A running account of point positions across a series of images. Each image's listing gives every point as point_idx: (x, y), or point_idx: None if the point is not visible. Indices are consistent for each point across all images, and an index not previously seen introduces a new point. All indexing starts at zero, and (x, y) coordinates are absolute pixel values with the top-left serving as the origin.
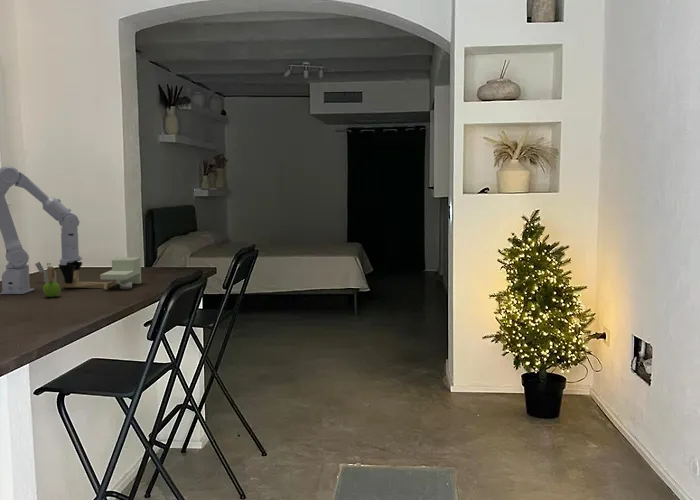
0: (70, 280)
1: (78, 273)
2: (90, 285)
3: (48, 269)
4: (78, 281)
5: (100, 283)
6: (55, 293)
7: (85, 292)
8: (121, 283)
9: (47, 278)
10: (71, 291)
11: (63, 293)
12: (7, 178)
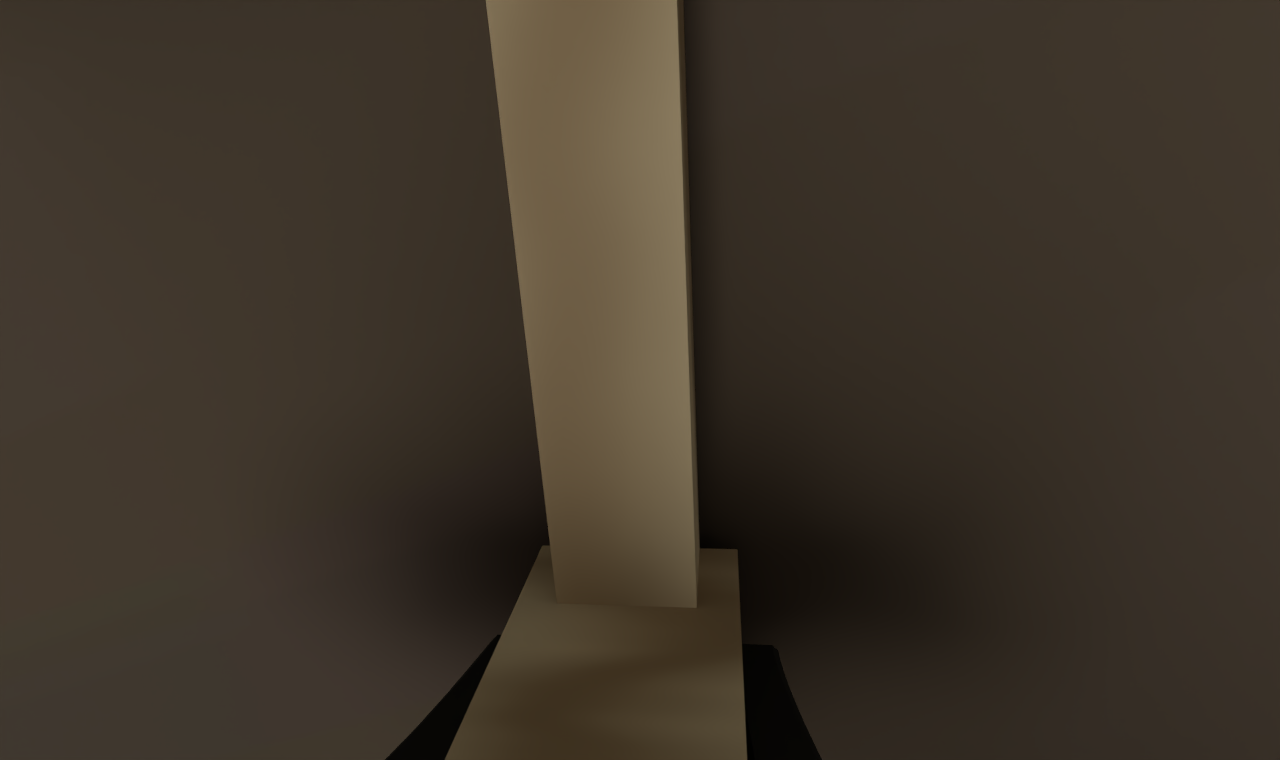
0: (792, 705)
1: (472, 739)
2: (689, 288)
3: None
4: (572, 589)
5: (678, 24)
6: None
7: (1252, 173)
8: None
9: None
10: (1037, 493)
11: (1272, 547)
12: None
